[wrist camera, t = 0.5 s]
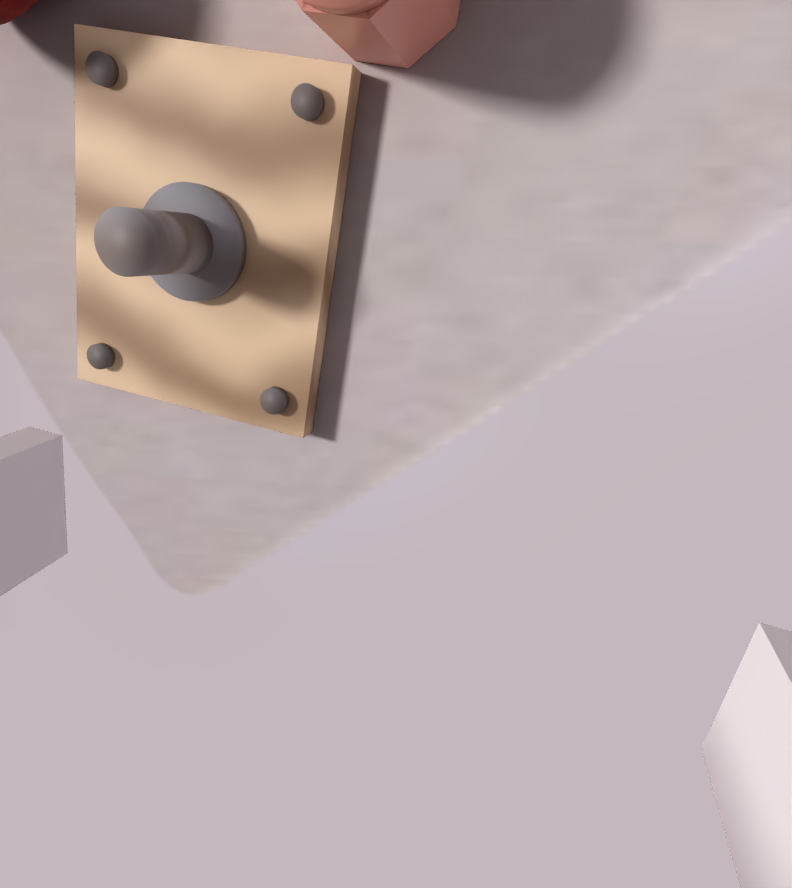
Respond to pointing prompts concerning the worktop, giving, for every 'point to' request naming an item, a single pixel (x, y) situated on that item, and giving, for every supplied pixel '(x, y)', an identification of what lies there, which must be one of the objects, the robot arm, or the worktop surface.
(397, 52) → the cap
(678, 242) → the worktop surface
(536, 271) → the worktop surface
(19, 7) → the apple
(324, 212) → the stud plate
